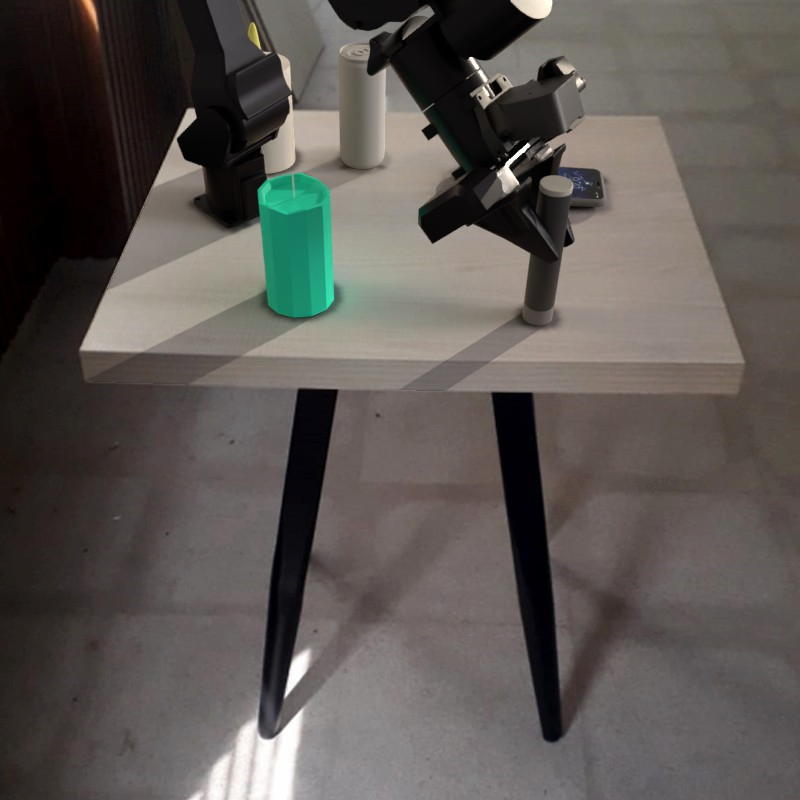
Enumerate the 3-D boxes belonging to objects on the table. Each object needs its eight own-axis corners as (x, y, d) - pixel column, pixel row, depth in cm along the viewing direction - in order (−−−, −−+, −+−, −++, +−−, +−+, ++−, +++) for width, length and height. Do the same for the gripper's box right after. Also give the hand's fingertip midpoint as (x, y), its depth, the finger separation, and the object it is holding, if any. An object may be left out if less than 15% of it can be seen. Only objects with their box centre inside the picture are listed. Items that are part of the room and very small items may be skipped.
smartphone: (460, 159, 102) (602, 167, 101) (460, 167, 102) (600, 175, 102) (458, 193, 96) (608, 202, 95) (457, 202, 97) (606, 210, 96)
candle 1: (300, 146, 105) (293, 8, 95) (289, 175, 100) (280, 33, 90) (244, 142, 106) (231, 4, 96) (230, 171, 101) (214, 29, 91)
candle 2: (274, 275, 87) (264, 154, 79) (339, 280, 87) (335, 160, 78) (259, 314, 82) (247, 191, 74) (328, 320, 82) (323, 197, 74)
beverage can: (331, 159, 103) (327, 49, 95) (364, 145, 106) (364, 37, 98) (359, 176, 101) (359, 64, 93) (393, 161, 103) (396, 52, 95)
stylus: (515, 315, 83) (532, 182, 74) (535, 304, 84) (554, 171, 76) (538, 329, 82) (558, 195, 73) (558, 317, 83) (580, 184, 74)
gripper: (463, 78, 63) (593, 271, 66) (578, -5, 75) (683, 162, 78) (363, 156, 71) (483, 324, 74) (481, 69, 83) (580, 217, 86)
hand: (562, 253), depth 78 cm, fingers closed on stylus, 2 cm apart
